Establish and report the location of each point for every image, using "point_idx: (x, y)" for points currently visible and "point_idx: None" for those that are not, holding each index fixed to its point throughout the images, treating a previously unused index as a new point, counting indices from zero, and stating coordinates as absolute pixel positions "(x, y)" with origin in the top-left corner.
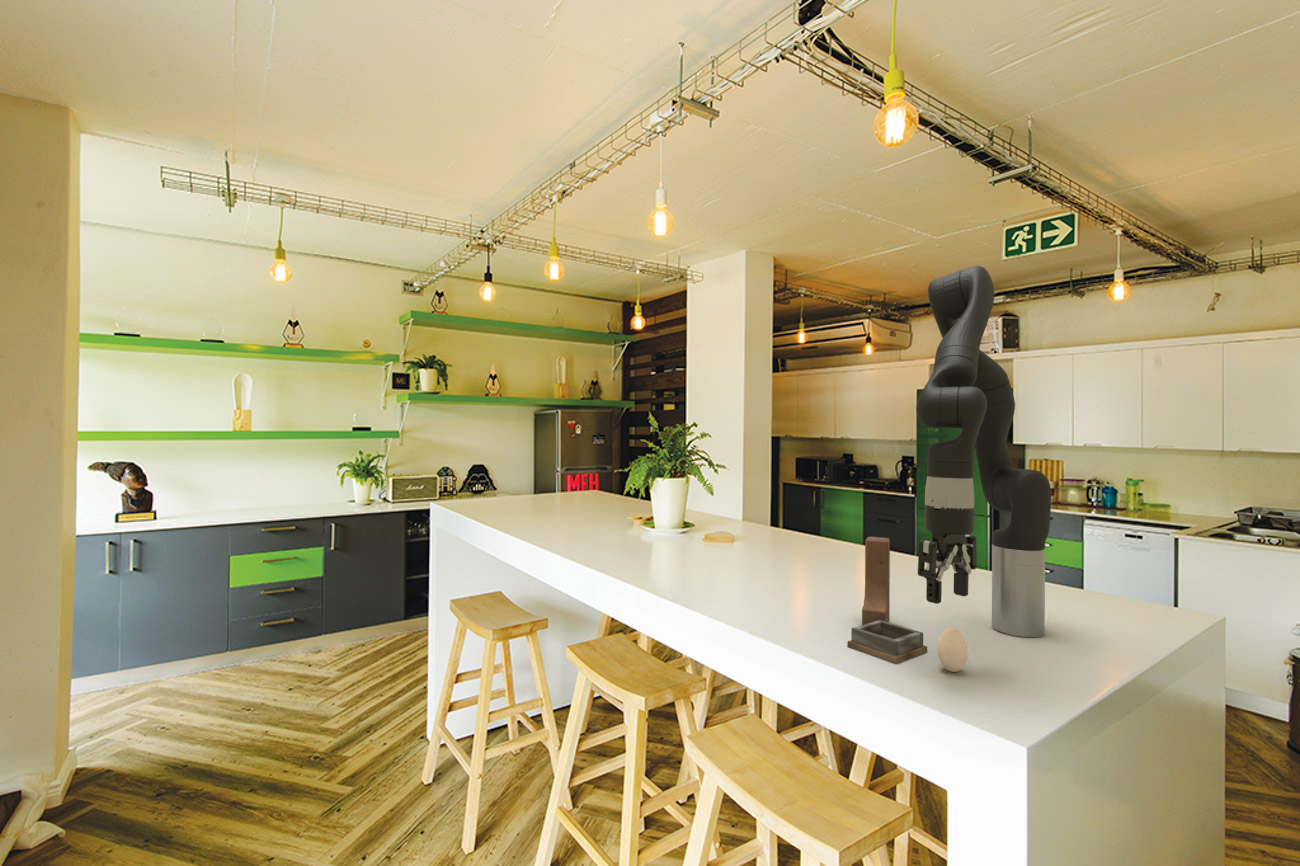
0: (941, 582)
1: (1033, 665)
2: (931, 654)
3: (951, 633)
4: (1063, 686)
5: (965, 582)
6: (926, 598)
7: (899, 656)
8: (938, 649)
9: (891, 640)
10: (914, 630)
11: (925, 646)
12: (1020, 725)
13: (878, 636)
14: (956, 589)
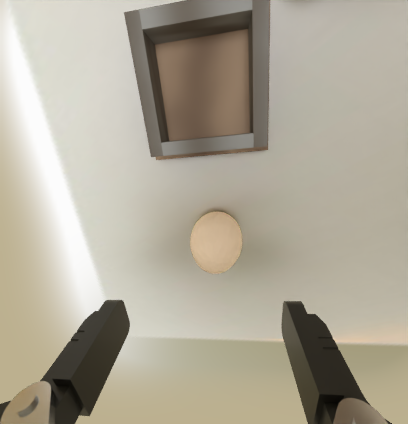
0: (90, 410)
1: (352, 272)
2: (260, 160)
3: (200, 264)
4: None
5: (299, 386)
6: (105, 302)
7: (169, 157)
8: (194, 226)
9: (153, 143)
10: (264, 123)
11: (264, 147)
12: (149, 323)
13: (145, 108)
14: (288, 322)
